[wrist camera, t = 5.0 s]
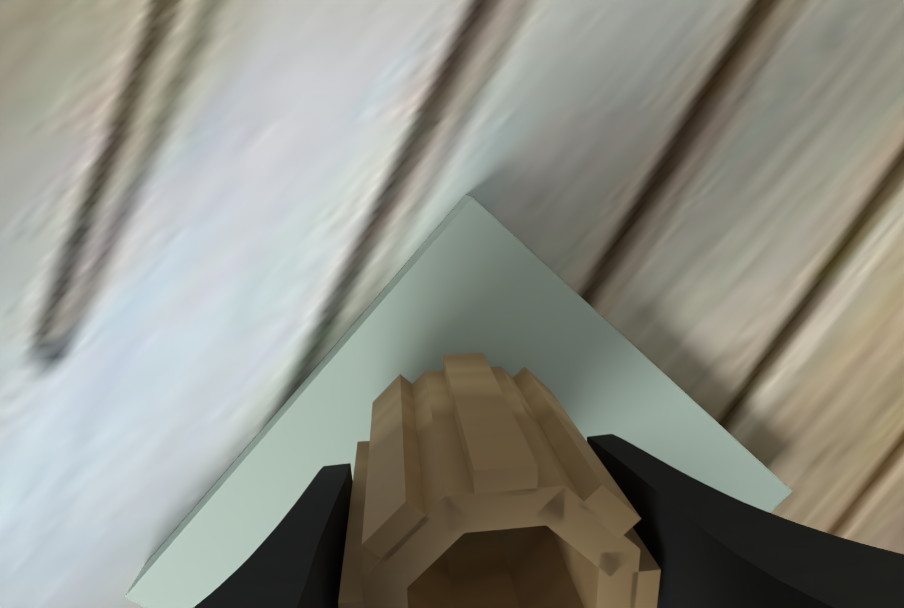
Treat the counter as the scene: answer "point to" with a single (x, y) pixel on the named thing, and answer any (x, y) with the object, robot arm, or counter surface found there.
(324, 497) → the robot arm
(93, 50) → the counter surface
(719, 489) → the board
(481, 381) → the oak cog
